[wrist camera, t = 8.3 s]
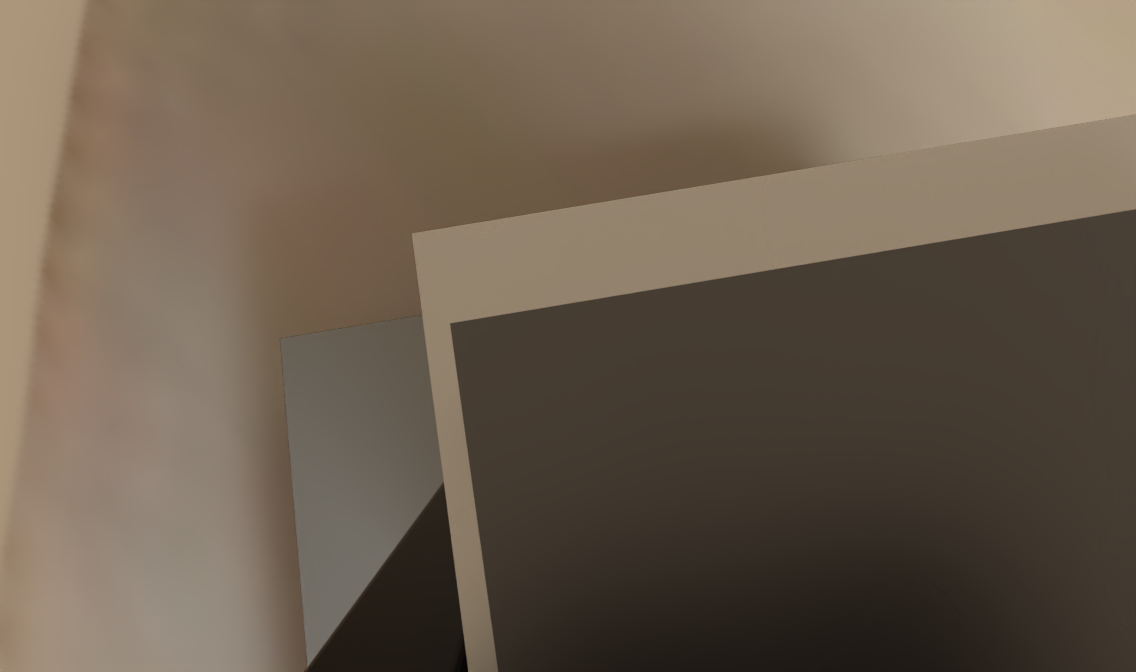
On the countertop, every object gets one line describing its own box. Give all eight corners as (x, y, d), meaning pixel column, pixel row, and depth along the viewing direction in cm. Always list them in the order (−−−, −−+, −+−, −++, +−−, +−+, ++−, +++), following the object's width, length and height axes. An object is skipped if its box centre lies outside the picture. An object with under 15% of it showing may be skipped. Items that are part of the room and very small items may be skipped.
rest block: (1096, 945, 16) (1204, 1003, 13) (393, 1075, 16) (349, 1164, 13) (907, 290, 20) (960, 225, 17) (326, 388, 19) (280, 338, 16)
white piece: (927, 787, 12) (1763, 1062, 3) (576, 851, 12) (519, 1299, 3) (839, 443, 13) (1284, 12, 5) (522, 497, 13) (379, 156, 4)
